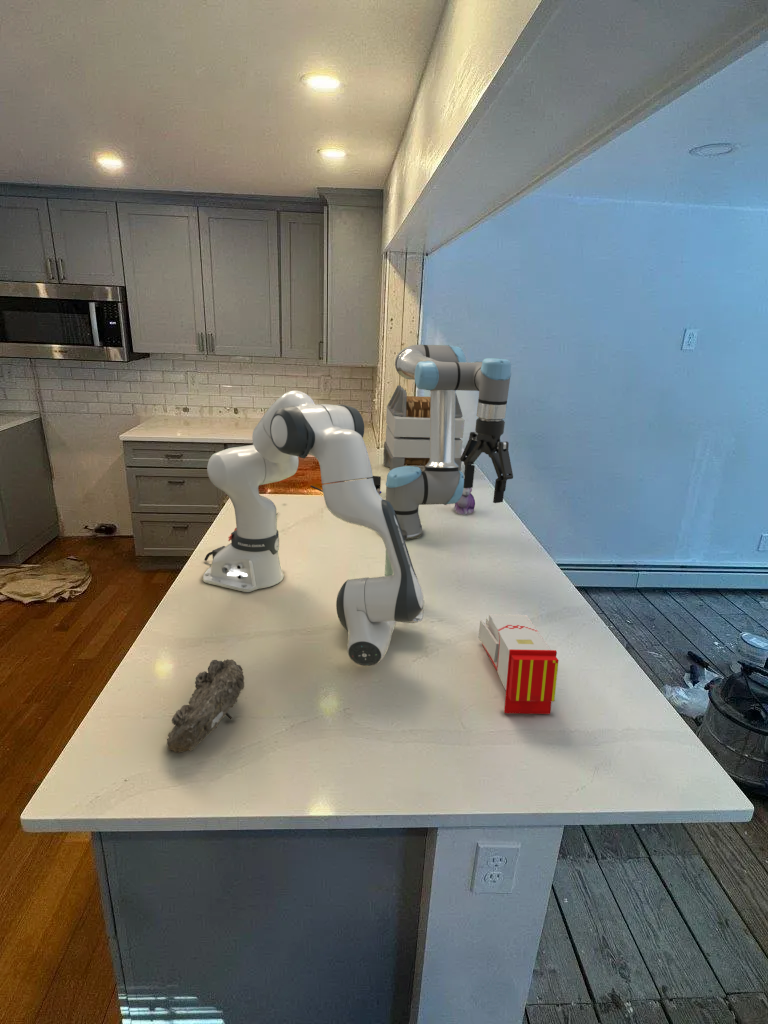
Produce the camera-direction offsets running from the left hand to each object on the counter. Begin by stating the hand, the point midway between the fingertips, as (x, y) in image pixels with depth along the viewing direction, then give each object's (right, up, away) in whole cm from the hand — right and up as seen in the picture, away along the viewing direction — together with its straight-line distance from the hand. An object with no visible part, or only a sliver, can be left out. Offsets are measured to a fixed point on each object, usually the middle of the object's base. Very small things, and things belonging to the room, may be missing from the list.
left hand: (387, 590), depth 146 cm
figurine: (+31, +20, +79) cm, 88 cm away
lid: (+2, +14, +6) cm, 16 cm away
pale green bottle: (+2, -3, +12) cm, 13 cm away
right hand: (+27, +25, +12) cm, 38 cm away
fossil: (-34, -19, -38) cm, 54 cm away
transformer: (+16, +39, +129) cm, 136 cm away
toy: (+27, -16, -20) cm, 37 cm away
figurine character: (-6, +26, +92) cm, 95 cm away
